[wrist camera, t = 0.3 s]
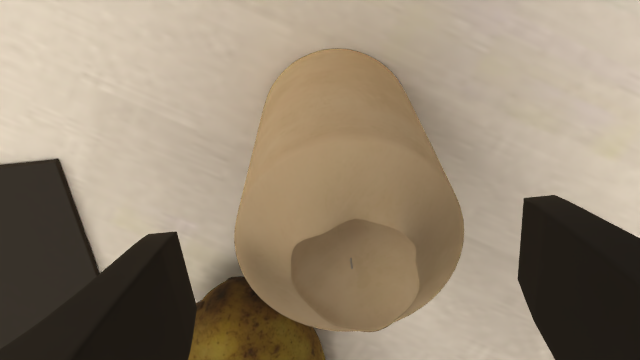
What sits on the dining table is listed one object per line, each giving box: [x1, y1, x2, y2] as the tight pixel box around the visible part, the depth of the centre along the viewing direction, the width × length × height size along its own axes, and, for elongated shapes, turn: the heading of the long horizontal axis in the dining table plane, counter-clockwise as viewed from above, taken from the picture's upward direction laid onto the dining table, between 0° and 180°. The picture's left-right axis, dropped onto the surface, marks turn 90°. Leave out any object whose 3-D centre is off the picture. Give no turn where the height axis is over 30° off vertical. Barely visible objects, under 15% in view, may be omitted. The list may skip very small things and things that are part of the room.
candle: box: [234, 49, 464, 332], centre depth 16 cm, size 6×6×10 cm
